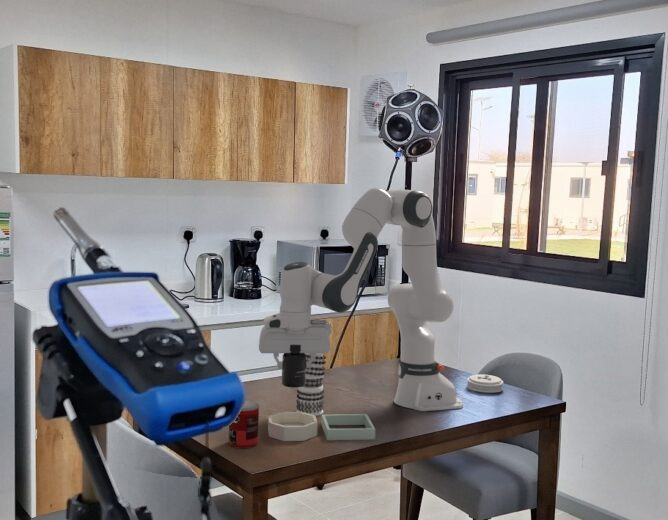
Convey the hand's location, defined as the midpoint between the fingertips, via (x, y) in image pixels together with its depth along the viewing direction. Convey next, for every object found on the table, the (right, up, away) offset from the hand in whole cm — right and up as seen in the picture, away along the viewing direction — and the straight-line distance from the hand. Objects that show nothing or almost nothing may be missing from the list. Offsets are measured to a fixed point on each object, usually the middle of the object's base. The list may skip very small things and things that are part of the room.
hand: (294, 368), depth 208 cm
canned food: (-13, -20, -8) cm, 25 cm away
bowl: (-1, -19, +2) cm, 19 cm away
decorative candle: (+4, -17, +22) cm, 28 cm away
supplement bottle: (0, -5, 0) cm, 5 cm away
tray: (+15, -19, +4) cm, 25 cm away
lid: (+65, -16, +53) cm, 85 cm away
